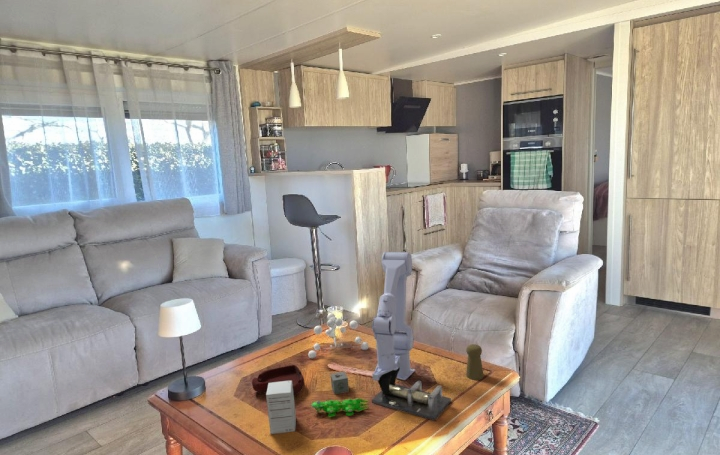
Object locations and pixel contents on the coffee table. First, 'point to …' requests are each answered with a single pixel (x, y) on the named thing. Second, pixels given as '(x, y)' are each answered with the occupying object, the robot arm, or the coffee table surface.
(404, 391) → the brass tube
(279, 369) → the ashtray
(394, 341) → the robot arm
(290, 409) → the supplement box
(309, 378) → the coffee table surface
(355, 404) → the green bumpy long piece
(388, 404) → the collar base
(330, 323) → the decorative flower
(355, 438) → the coffee table surface
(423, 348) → the coffee table surface
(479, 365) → the cork
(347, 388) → the dice cube
